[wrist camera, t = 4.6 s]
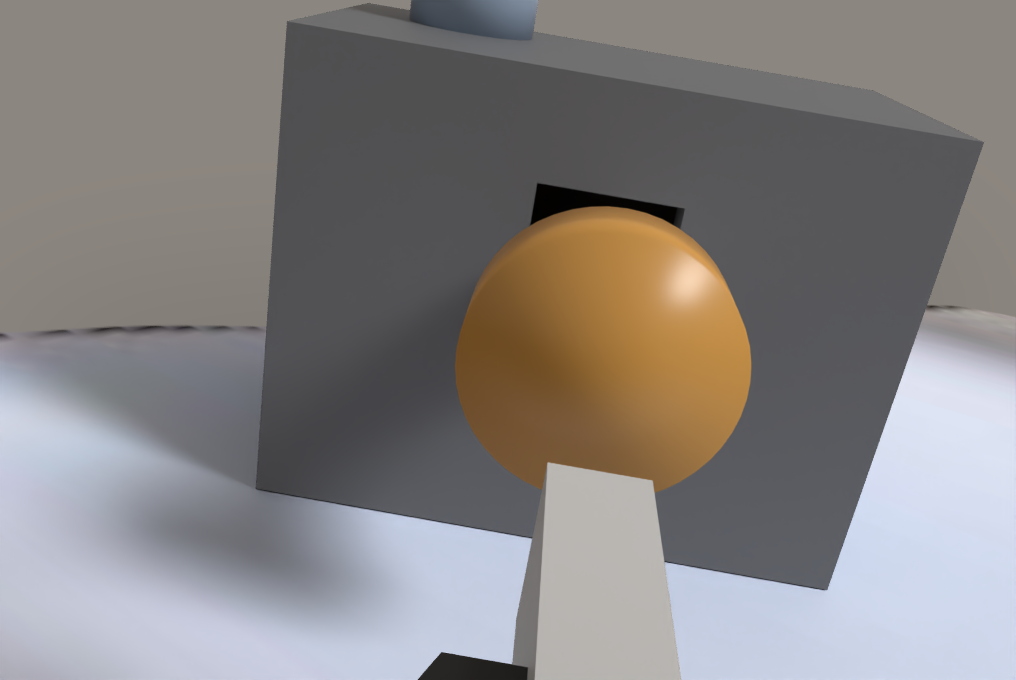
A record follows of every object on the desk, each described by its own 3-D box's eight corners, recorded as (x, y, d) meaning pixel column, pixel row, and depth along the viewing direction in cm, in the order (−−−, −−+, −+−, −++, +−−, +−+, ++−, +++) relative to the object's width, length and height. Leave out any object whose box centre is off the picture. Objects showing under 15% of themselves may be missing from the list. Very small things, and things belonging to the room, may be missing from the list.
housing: (769, 438, 39) (873, 90, 33) (827, 589, 30) (984, 142, 24) (333, 361, 39) (368, 3, 34) (256, 488, 30) (287, 21, 24)
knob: (678, 376, 28) (728, 174, 25) (711, 523, 21) (786, 260, 18) (475, 340, 28) (507, 135, 26) (437, 475, 21) (477, 207, 18)
